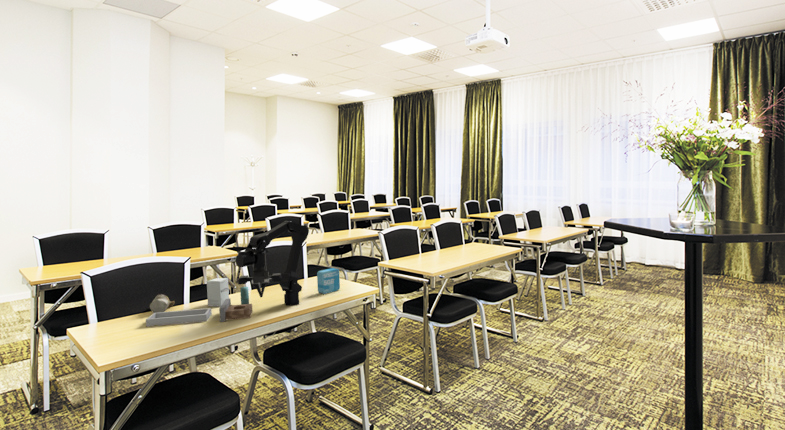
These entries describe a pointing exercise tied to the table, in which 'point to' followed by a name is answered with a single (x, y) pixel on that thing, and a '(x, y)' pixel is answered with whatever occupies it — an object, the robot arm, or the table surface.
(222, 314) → the backstop wall
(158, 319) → the rectangular open frame
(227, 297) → the supplement box
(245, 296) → the dowel
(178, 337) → the table surface
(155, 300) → the ceramic sculpture
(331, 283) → the data package
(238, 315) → the pocket block
